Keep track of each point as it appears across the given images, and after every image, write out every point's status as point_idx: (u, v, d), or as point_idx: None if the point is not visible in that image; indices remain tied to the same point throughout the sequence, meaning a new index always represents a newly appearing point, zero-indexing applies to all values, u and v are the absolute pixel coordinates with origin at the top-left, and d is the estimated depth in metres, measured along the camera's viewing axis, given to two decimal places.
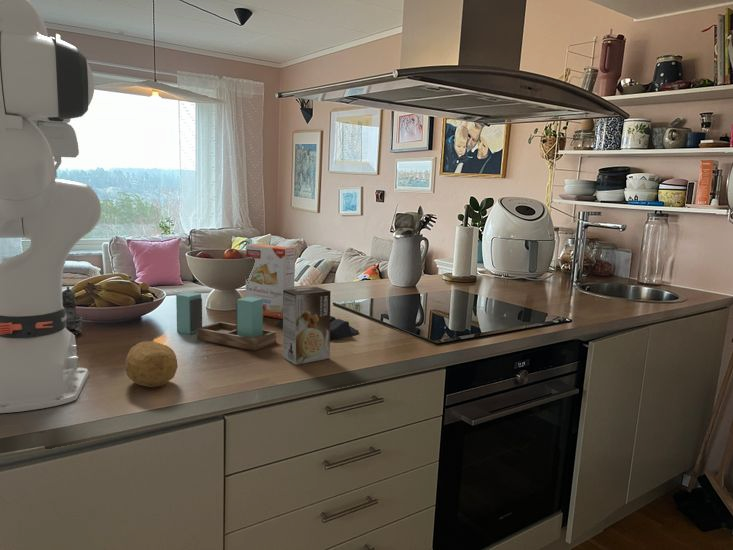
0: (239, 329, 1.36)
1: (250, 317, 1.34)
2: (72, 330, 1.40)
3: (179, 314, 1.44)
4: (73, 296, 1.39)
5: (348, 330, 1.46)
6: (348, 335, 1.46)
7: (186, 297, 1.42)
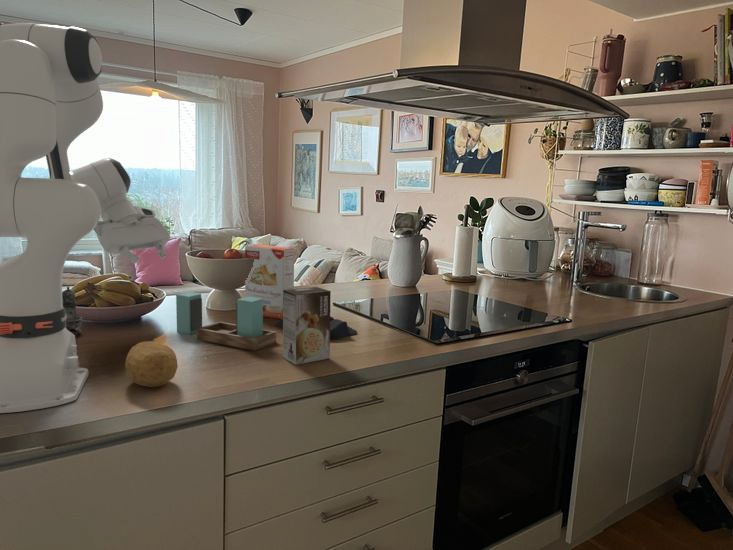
0: (239, 329, 1.36)
1: (250, 317, 1.34)
2: (72, 330, 1.40)
3: (179, 314, 1.44)
4: (73, 296, 1.39)
5: (346, 330, 1.45)
6: (346, 335, 1.46)
7: (186, 297, 1.42)
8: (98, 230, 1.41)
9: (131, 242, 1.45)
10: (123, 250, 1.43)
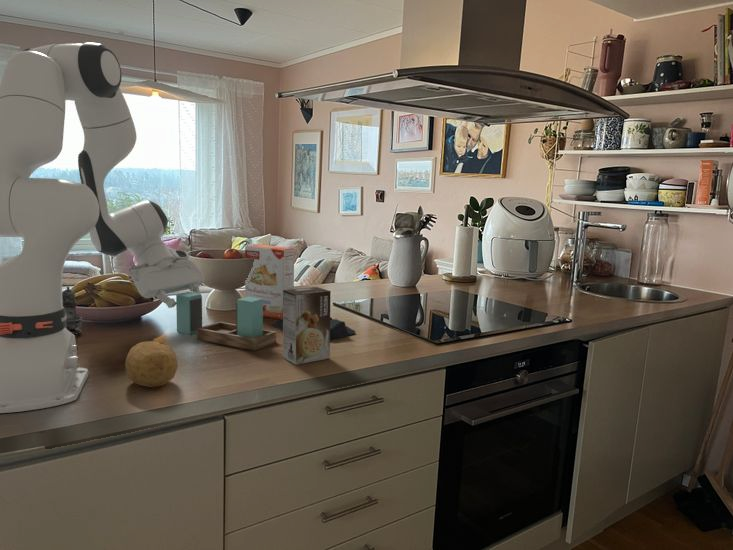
0: (239, 329, 1.36)
1: (250, 317, 1.34)
2: (72, 330, 1.40)
3: (179, 314, 1.44)
4: (73, 296, 1.39)
5: (344, 330, 1.45)
6: (344, 335, 1.45)
7: (186, 297, 1.42)
8: (135, 275, 1.38)
9: (168, 286, 1.42)
10: (160, 295, 1.40)
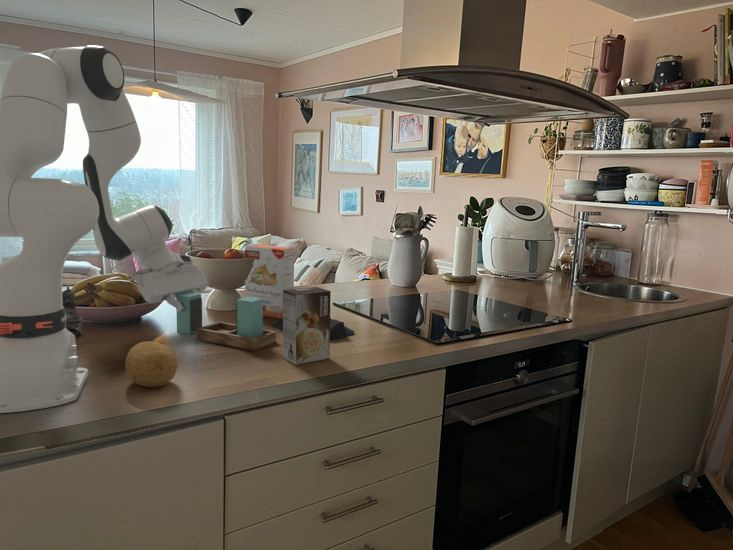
0: (239, 329, 1.36)
1: (250, 317, 1.34)
2: (72, 330, 1.40)
3: (179, 314, 1.44)
4: (73, 296, 1.39)
5: (343, 330, 1.45)
6: (343, 336, 1.45)
7: (186, 297, 1.42)
8: (139, 280, 1.38)
9: (172, 291, 1.41)
10: (170, 299, 1.41)
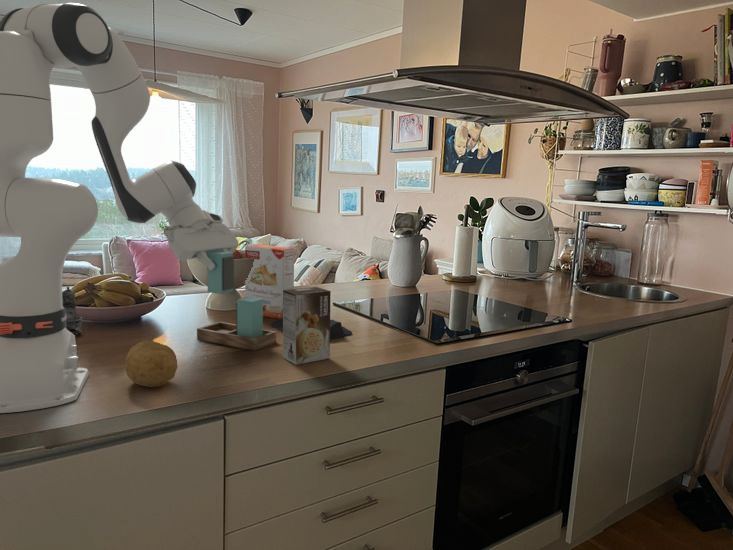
0: (239, 329, 1.36)
1: (250, 317, 1.34)
2: (72, 330, 1.40)
3: (210, 273, 1.37)
4: (73, 296, 1.39)
5: (340, 331, 1.45)
6: (340, 336, 1.45)
7: (218, 255, 1.35)
8: (170, 235, 1.31)
9: (203, 248, 1.35)
10: (201, 256, 1.34)
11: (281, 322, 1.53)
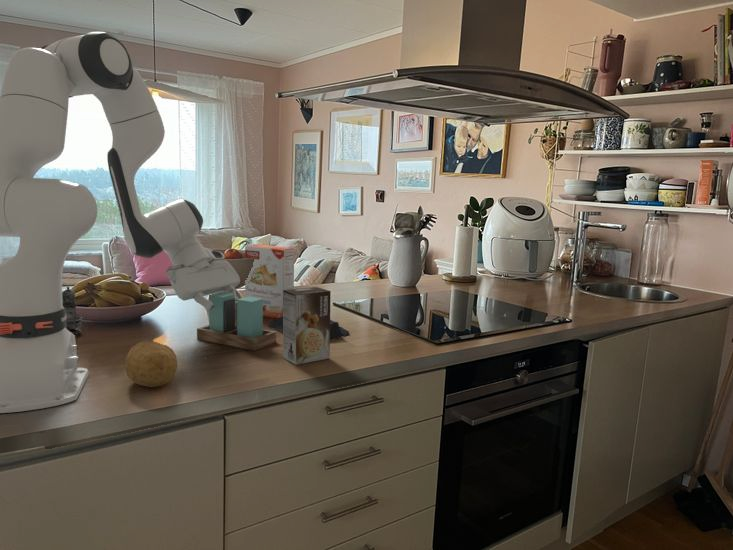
0: (239, 329, 1.36)
1: (250, 317, 1.34)
2: (72, 330, 1.40)
3: (211, 315, 1.39)
4: (73, 296, 1.39)
5: (338, 331, 1.45)
6: (338, 336, 1.45)
7: (219, 298, 1.37)
8: (172, 276, 1.33)
9: (205, 288, 1.36)
10: (198, 297, 1.34)
11: (278, 322, 1.53)
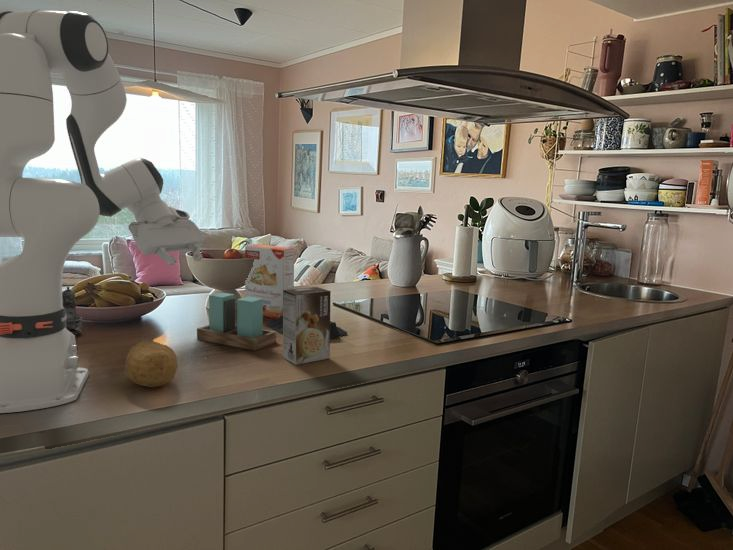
0: (239, 329, 1.36)
1: (250, 317, 1.34)
2: (72, 330, 1.40)
3: (211, 315, 1.39)
4: (73, 296, 1.39)
5: (335, 331, 1.44)
6: (335, 336, 1.44)
7: (219, 298, 1.37)
8: (134, 231, 1.36)
9: (167, 243, 1.40)
10: (160, 251, 1.38)
11: (277, 322, 1.53)
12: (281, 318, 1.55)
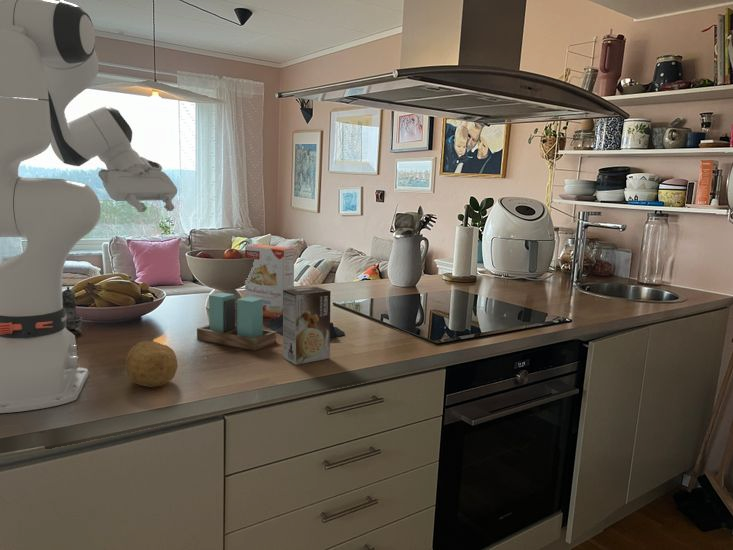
0: (239, 329, 1.36)
1: (250, 317, 1.34)
2: (72, 330, 1.40)
3: (211, 315, 1.39)
4: (73, 296, 1.39)
5: (332, 331, 1.44)
6: (332, 336, 1.44)
7: (219, 298, 1.37)
8: (104, 177, 1.37)
9: (138, 191, 1.40)
10: (130, 198, 1.38)
11: (275, 322, 1.53)
12: (279, 318, 1.55)
